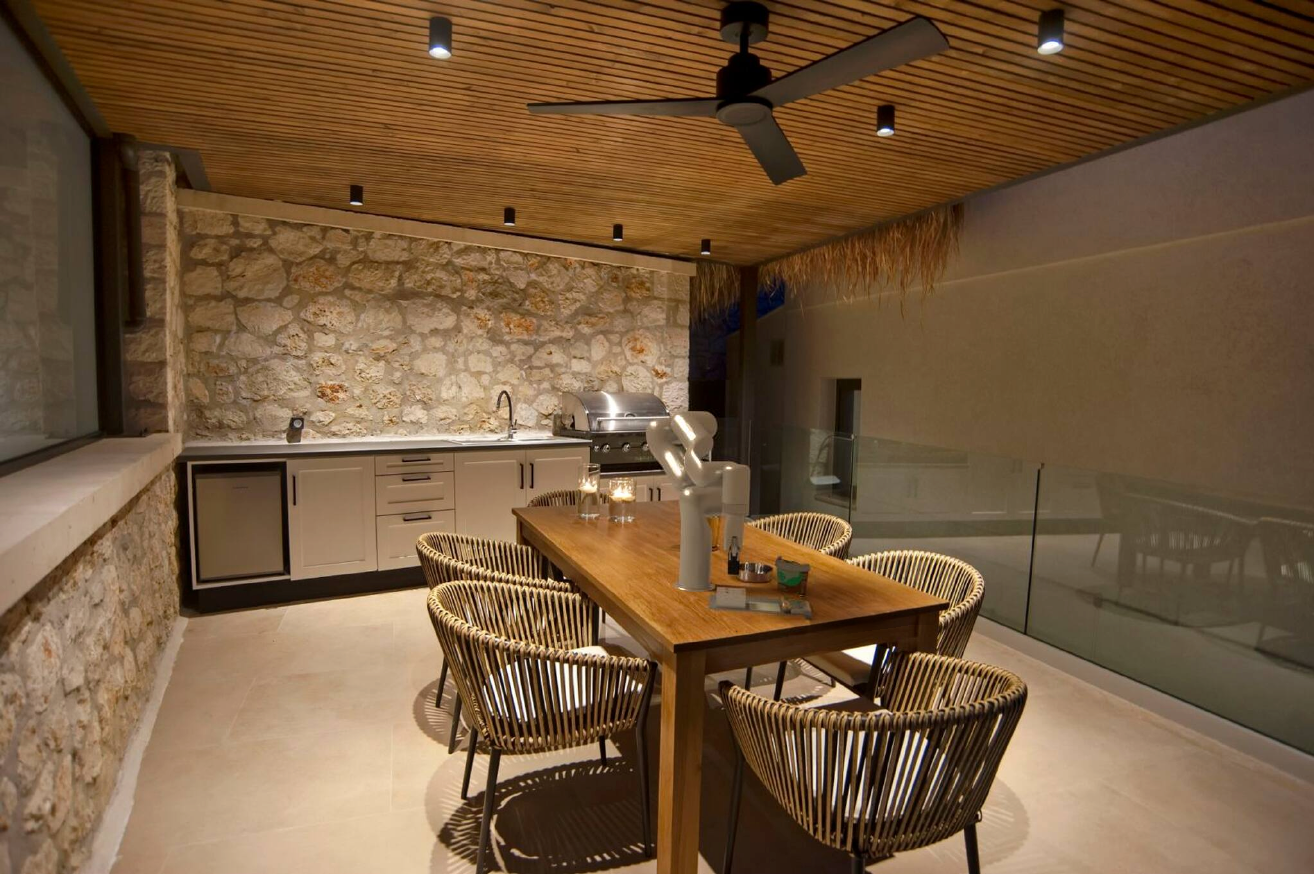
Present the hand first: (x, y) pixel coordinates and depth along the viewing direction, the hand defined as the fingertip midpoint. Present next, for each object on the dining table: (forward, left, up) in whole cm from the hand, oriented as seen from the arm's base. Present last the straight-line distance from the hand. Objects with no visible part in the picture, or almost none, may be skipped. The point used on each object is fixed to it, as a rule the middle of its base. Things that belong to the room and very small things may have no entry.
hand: (733, 570), depth 196 cm
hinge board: (-3, +8, -11) cm, 14 cm away
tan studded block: (-1, 0, -10) cm, 10 cm away
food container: (-20, +17, -11) cm, 28 cm away
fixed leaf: (-1, +18, -10) cm, 20 cm away
